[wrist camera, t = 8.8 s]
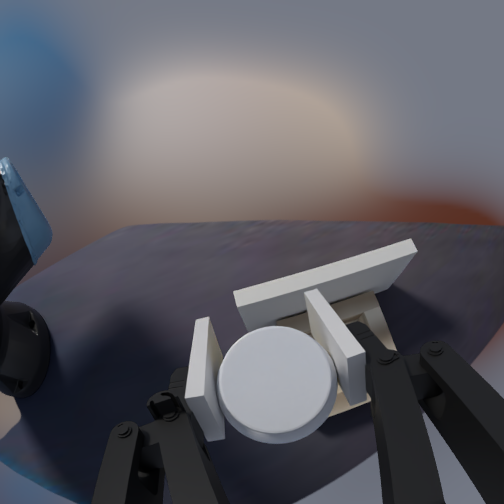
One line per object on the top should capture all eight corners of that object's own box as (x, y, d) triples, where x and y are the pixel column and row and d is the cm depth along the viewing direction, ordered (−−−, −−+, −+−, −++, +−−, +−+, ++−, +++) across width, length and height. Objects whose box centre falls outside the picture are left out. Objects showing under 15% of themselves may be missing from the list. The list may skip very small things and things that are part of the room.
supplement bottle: (324, 357, 19) (359, 314, 11) (314, 436, 17) (343, 461, 8) (245, 348, 20) (214, 299, 11) (231, 425, 17) (186, 439, 9)
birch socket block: (398, 386, 29) (408, 384, 27) (304, 421, 29) (307, 423, 26) (366, 299, 35) (373, 290, 32) (276, 328, 34) (276, 321, 32)
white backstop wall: (387, 288, 35) (417, 251, 26) (248, 333, 34) (237, 307, 26) (383, 278, 36) (410, 238, 27) (245, 321, 35) (233, 291, 26)
